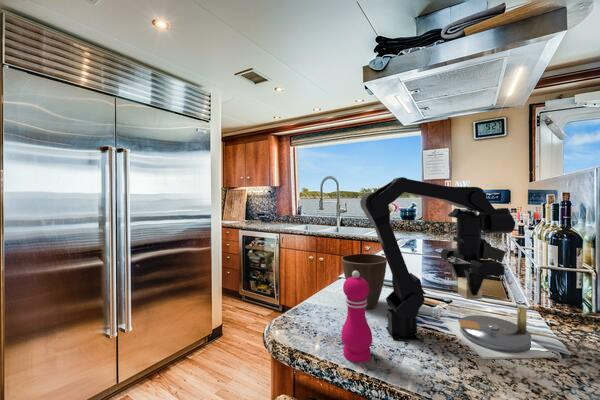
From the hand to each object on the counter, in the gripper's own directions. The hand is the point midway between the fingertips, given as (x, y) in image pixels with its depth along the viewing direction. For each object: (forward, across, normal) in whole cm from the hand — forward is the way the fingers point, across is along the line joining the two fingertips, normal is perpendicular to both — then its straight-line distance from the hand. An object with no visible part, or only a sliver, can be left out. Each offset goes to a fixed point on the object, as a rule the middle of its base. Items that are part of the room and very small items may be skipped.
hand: (469, 292), depth 75 cm
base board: (+11, -3, -4) cm, 12 cm away
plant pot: (+11, +20, +24) cm, 33 cm away
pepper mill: (+11, -9, +32) cm, 35 cm away
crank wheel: (+11, -3, -4) cm, 12 cm away
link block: (+1, 0, 0) cm, 1 cm away
